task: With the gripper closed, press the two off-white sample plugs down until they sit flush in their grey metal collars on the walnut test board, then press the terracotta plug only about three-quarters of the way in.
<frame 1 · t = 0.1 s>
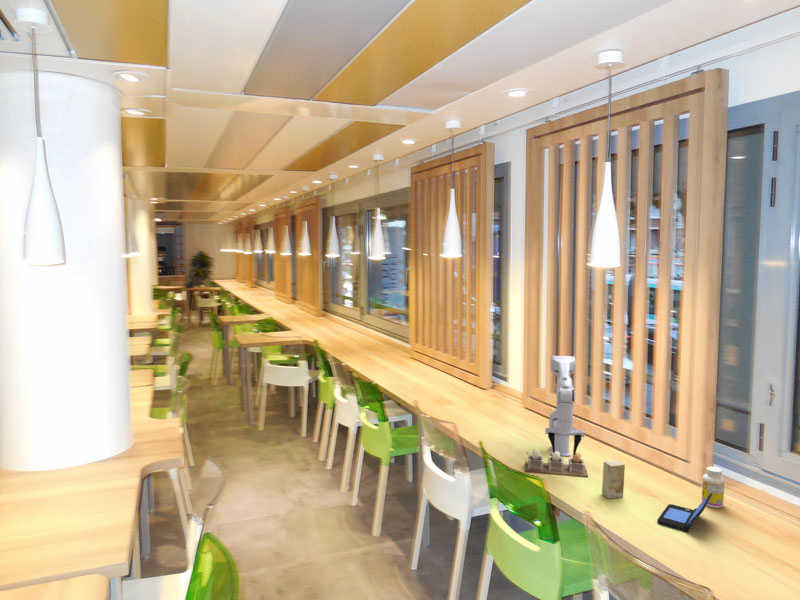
hand: (564, 452, 217), 10 cm above the table, fingers open, 7 cm apart
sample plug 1: (535, 455, 227), point 5 cm above the table, slide at 0.0 cm
handheld game console: (684, 522, 184), on the table
terracotta plug: (576, 458, 224), point 5 cm above the table, slide at 0.0 cm
skincare box: (612, 496, 203), on the table
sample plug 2: (555, 456, 226), point 5 cm above the table, slide at 0.0 cm
supplement bottle: (712, 504, 196), on the table
test board: (555, 469, 226), on the table
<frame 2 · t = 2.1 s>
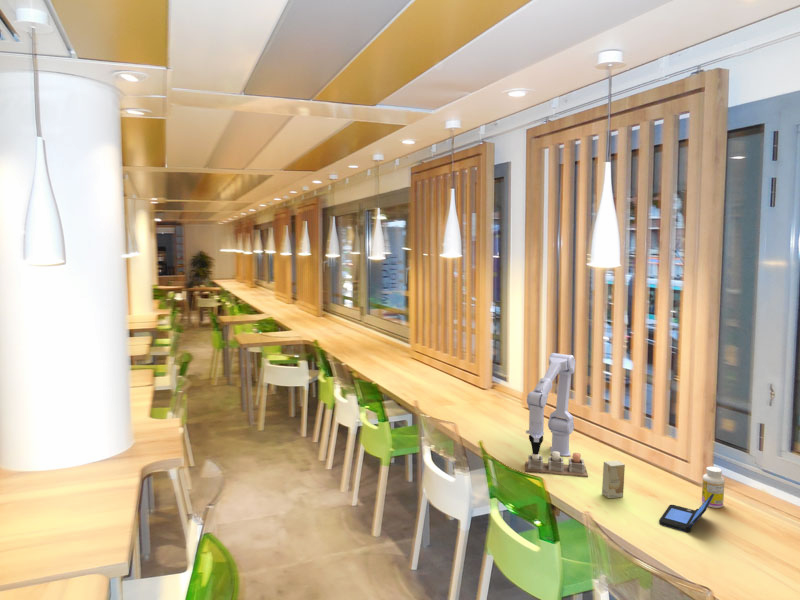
hand: (535, 453, 227), 6 cm above the table, fingers closed, pressing on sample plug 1
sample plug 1: (535, 457, 227), point 4 cm above the table, slide at 1.1 cm, touching gripper
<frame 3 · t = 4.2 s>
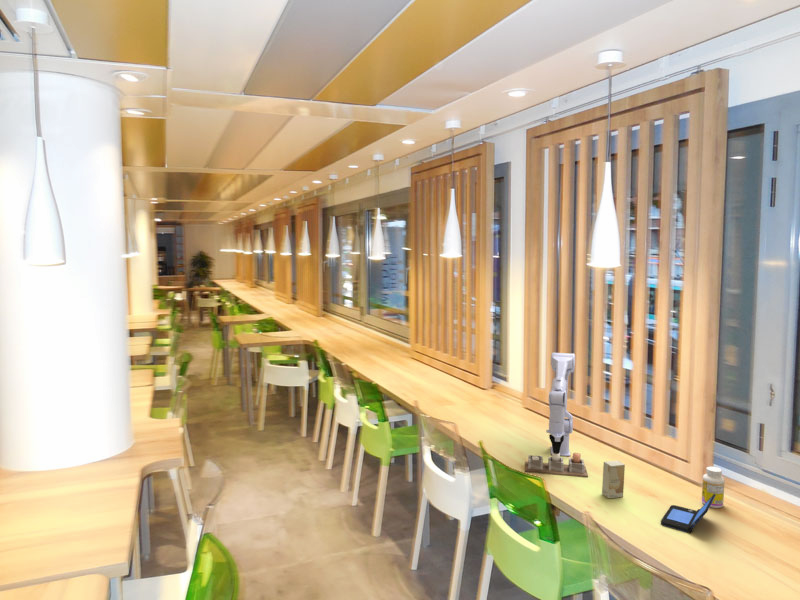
hand: (556, 453, 225), 7 cm above the table, fingers closed, pressing on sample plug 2
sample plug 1: (535, 461, 228), point 3 cm above the table, slide at 2.8 cm
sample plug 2: (555, 457, 226), point 5 cm above the table, slide at 0.2 cm, touching gripper
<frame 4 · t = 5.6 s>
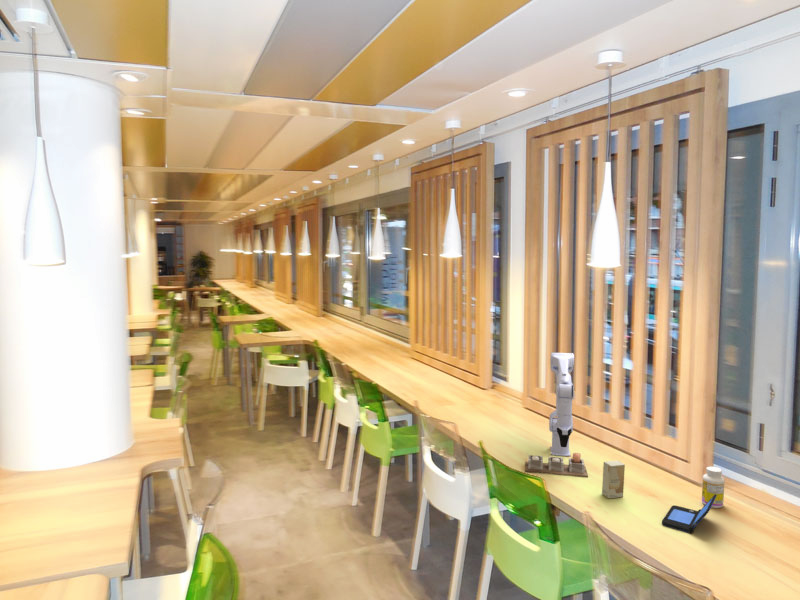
hand: (563, 446, 225), 10 cm above the table, fingers closed
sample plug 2: (555, 463, 226), point 3 cm above the table, slide at 2.8 cm
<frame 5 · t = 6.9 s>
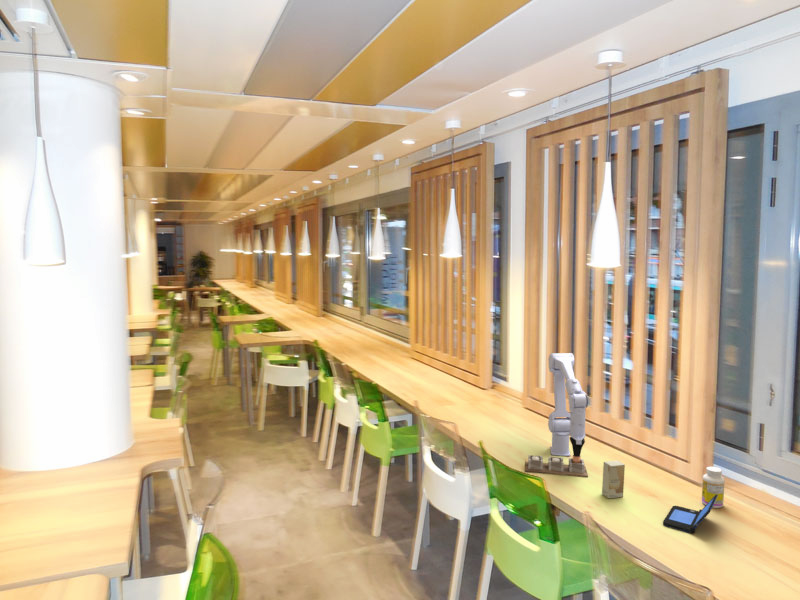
hand: (576, 456, 224), 6 cm above the table, fingers closed, pressing on terracotta plug
terracotta plug: (576, 460, 224), point 5 cm above the table, slide at 0.8 cm, touching gripper
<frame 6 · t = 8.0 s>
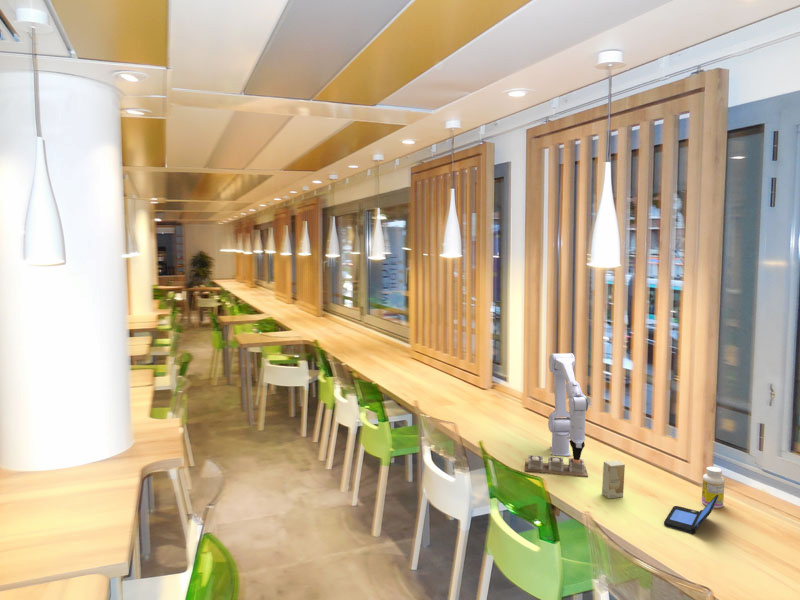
hand: (576, 459, 224), 5 cm above the table, fingers closed
terracotta plug: (576, 463, 224), point 3 cm above the table, slide at 2.1 cm
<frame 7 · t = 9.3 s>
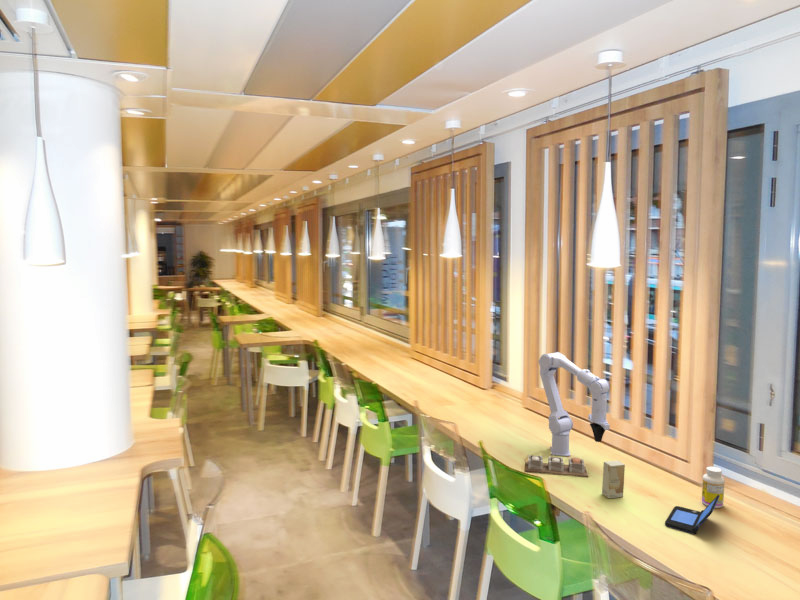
hand: (597, 441, 229), 10 cm above the table, fingers closed
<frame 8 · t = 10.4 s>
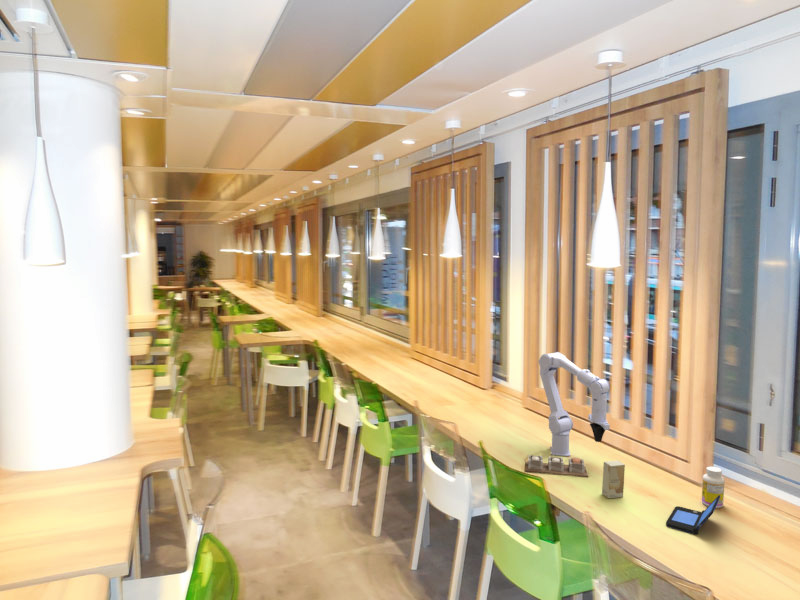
hand: (597, 441, 229), 10 cm above the table, fingers closed
at the end: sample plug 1 slide at 2.8 cm; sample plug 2 slide at 2.8 cm; terracotta plug slide at 2.1 cm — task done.
